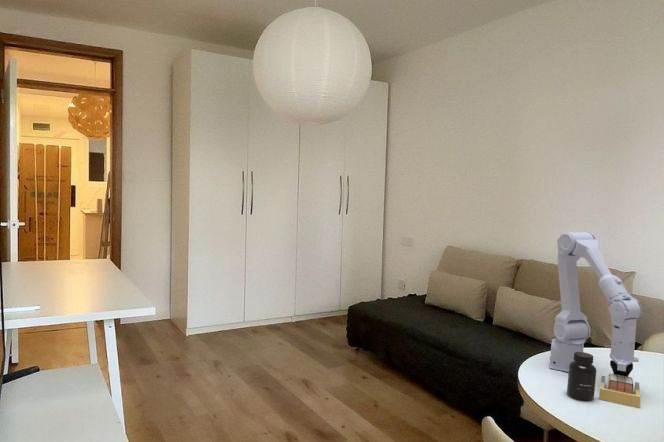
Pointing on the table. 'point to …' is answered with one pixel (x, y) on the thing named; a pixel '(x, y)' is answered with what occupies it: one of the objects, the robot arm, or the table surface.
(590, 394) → the supplement bottle
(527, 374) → the table surface
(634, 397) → the tube holder
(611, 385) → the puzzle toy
